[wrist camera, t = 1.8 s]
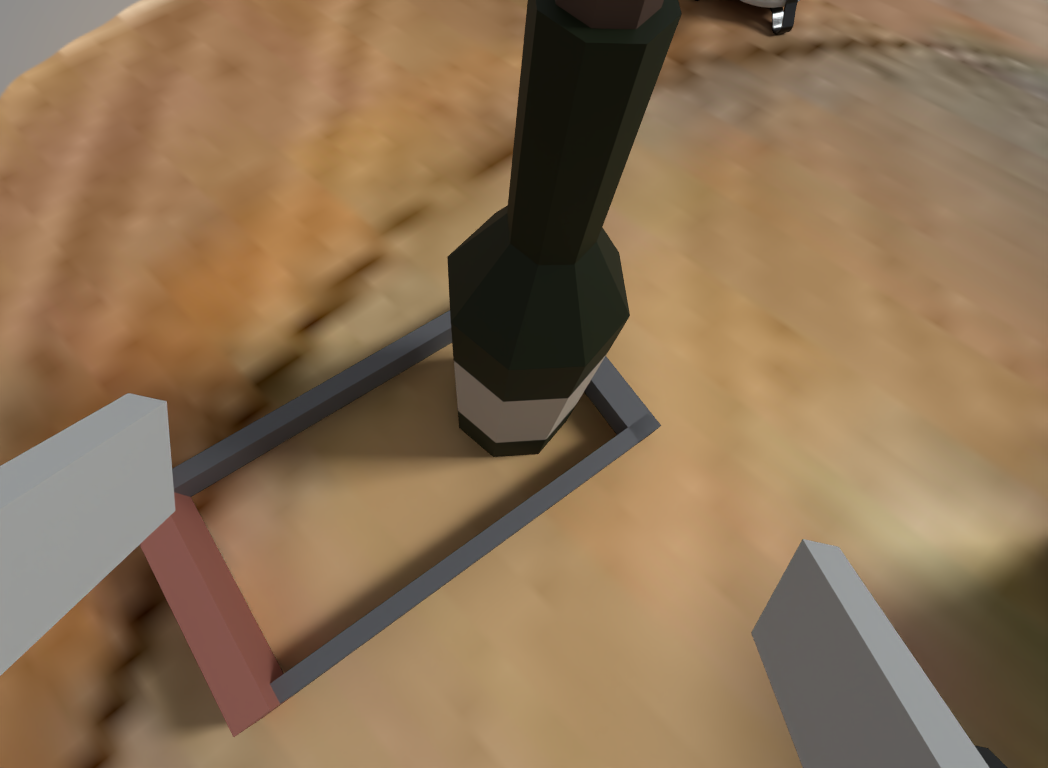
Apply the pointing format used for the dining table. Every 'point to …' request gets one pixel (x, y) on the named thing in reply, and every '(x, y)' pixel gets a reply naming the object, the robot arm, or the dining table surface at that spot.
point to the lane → (252, 670)
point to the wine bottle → (554, 223)
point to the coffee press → (778, 13)
